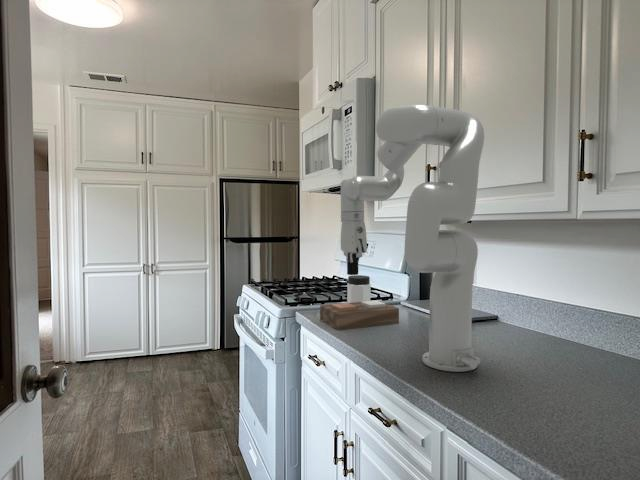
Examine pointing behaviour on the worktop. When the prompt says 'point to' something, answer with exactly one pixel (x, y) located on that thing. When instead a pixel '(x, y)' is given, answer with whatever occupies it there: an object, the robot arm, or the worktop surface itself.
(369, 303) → the offwhite key
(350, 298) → the jar
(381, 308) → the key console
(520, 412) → the worktop surface
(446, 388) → the worktop surface
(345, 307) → the terracotta key
